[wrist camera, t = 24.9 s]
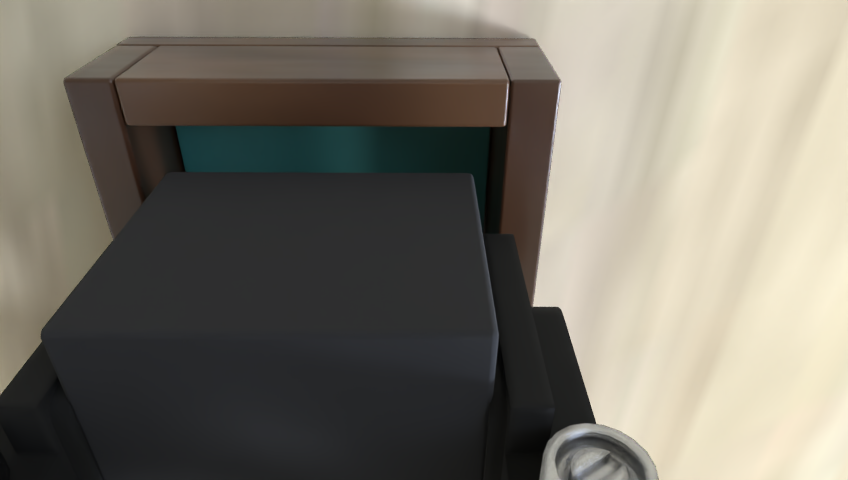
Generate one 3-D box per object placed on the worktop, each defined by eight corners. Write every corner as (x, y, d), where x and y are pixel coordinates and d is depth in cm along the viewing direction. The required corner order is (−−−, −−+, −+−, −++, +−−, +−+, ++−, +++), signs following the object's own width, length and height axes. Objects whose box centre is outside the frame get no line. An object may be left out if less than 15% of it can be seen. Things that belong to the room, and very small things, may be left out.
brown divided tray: (244, 508, 20) (222, 591, 17) (127, 36, 12) (59, 78, 9) (488, 508, 20) (496, 591, 17) (536, 38, 12) (562, 80, 10)
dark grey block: (219, 389, 13) (145, 585, 9) (166, 169, 10) (33, 333, 7) (462, 389, 13) (476, 585, 9) (473, 170, 10) (501, 333, 7)
